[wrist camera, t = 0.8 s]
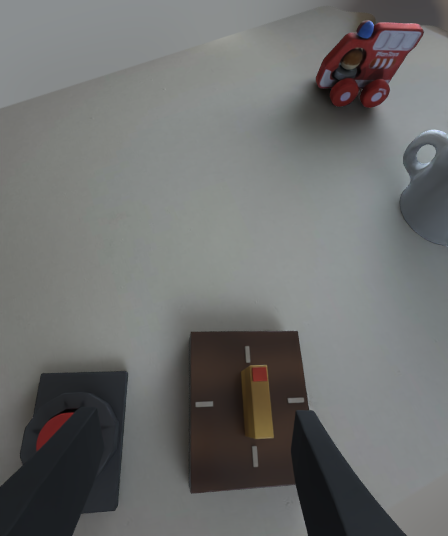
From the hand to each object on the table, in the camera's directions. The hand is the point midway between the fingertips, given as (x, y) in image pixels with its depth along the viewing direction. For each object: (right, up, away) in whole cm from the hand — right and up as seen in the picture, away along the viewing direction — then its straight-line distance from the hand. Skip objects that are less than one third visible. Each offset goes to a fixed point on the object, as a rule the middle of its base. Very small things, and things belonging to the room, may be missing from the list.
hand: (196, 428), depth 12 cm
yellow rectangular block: (+3, -5, +15) cm, 16 cm away
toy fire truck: (+21, +34, +40) cm, 56 cm away
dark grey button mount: (-11, -8, +15) cm, 20 cm away
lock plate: (+3, -7, +18) cm, 19 cm away
